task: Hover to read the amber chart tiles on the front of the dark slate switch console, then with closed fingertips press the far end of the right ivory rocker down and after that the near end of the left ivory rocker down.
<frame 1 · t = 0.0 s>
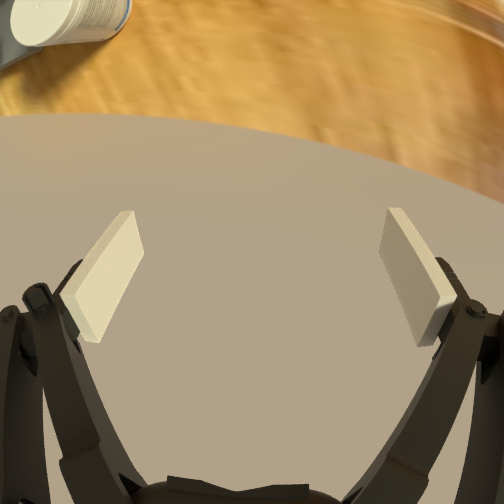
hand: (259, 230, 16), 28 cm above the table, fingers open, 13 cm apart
supplement tub: (104, 12, 29), on the table
console: (8, 17, 27), on the table
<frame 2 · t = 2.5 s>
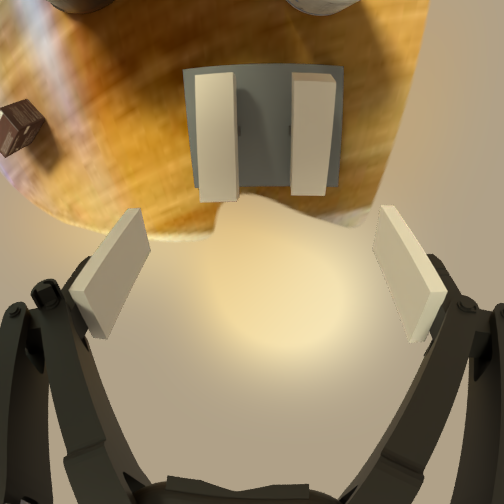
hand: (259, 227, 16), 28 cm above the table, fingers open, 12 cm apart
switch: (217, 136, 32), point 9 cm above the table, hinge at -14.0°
box: (29, 120, 39), on the table
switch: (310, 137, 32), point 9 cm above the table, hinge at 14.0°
console: (265, 120, 39), on the table
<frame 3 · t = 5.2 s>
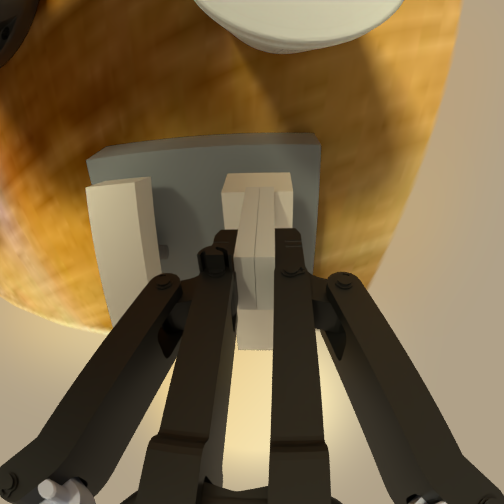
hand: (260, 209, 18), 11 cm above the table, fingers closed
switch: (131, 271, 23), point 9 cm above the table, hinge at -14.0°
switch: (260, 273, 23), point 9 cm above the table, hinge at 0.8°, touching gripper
supplement tub: (280, 3, 19), on the table
console: (211, 216, 30), on the table
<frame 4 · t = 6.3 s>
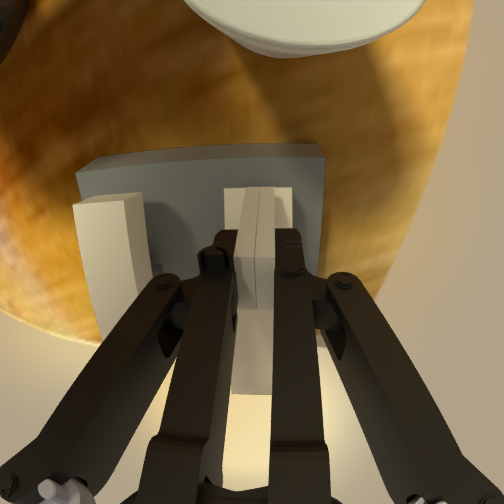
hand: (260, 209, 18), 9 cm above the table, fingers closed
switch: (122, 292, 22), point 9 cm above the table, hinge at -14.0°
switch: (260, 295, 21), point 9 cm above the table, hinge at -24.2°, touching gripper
supplement tub: (282, 4, 18), on the table
console: (208, 231, 29), on the table
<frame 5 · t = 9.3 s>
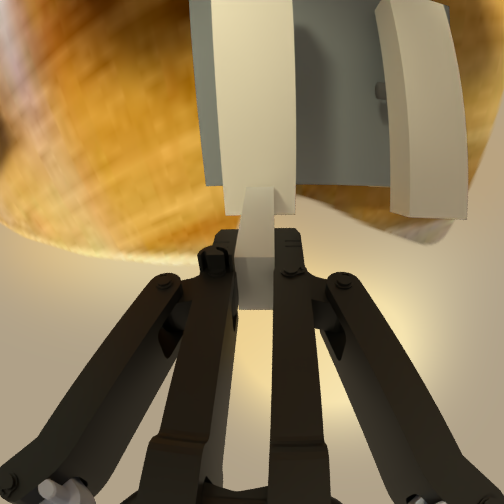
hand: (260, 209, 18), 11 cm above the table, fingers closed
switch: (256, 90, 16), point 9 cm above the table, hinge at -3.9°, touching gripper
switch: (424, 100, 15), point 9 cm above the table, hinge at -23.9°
console: (322, 78, 22), on the table
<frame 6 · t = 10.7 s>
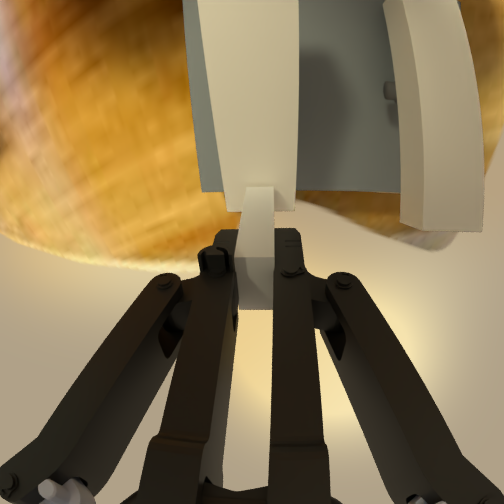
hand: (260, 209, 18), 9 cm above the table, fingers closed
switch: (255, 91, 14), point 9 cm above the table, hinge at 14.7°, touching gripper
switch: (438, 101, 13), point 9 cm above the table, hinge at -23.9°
console: (325, 77, 21), on the table
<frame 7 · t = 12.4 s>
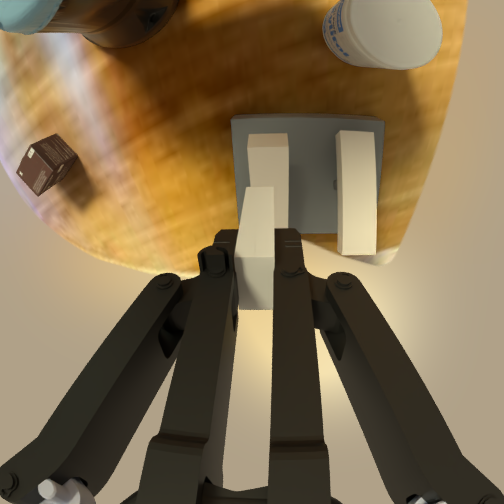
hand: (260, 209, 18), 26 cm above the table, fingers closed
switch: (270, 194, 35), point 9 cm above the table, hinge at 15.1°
box: (60, 155, 43), on the table
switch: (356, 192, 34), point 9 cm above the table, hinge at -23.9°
supplement tub: (357, 34, 31), on the table
console: (306, 169, 42), on the table
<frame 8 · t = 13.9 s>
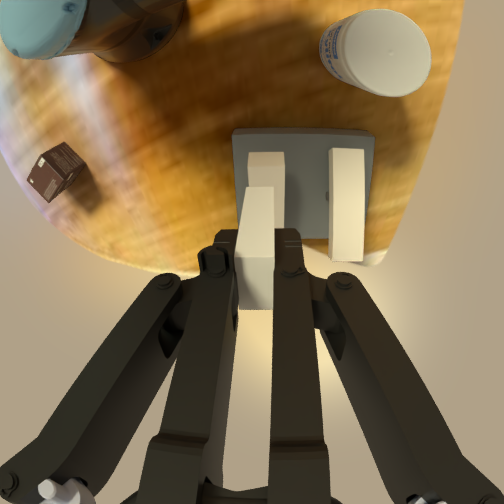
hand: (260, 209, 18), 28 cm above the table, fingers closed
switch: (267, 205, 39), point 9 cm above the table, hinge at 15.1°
box: (68, 162, 46), on the table
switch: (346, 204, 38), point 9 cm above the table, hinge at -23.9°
supplement tub: (352, 52, 35), on the table
console: (301, 179, 46), on the table
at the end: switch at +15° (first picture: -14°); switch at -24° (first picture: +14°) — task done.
